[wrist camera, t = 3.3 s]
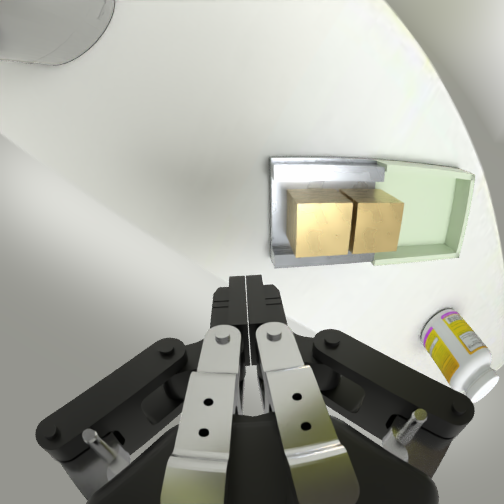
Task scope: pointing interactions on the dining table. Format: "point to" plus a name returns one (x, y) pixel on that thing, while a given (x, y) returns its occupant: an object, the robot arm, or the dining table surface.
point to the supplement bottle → (460, 354)
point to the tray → (427, 210)
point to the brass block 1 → (318, 222)
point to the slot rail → (314, 177)
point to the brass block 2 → (374, 220)
